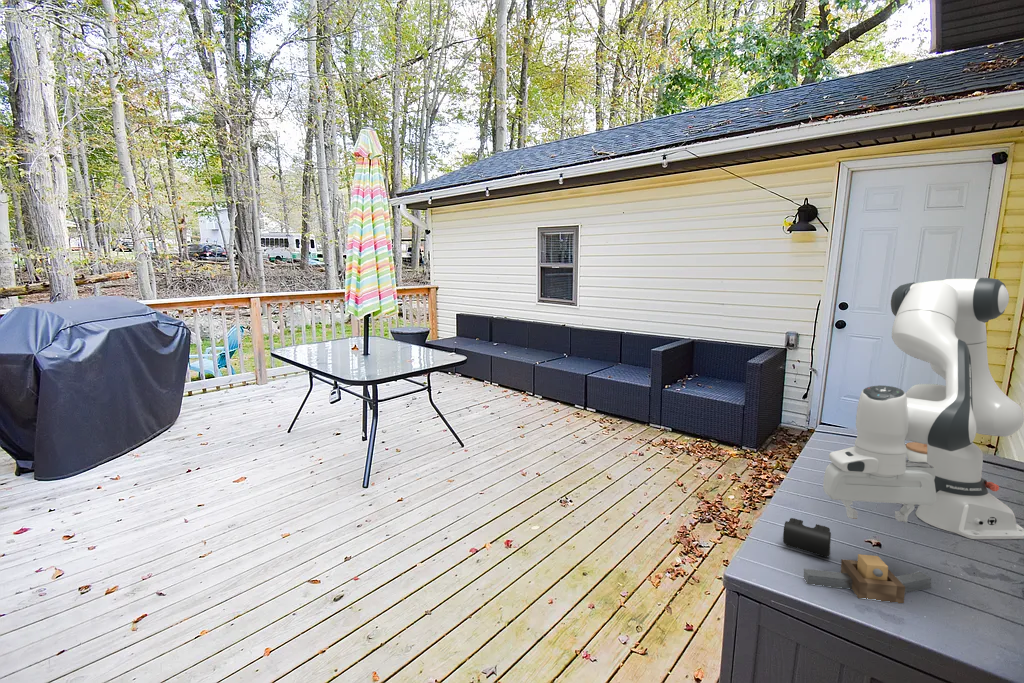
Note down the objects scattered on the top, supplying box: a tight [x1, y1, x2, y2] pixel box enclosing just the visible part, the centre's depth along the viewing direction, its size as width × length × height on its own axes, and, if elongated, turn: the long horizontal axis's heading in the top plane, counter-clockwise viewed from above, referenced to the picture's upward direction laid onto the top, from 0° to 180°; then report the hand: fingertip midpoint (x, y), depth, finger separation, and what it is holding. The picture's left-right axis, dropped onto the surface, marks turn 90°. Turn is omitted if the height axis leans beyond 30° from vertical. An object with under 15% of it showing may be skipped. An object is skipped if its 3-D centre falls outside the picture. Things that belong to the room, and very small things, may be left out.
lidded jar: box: [905, 441, 927, 462], centre depth 164 cm, size 11×11×9 cm
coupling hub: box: [840, 558, 906, 604], centre depth 102 cm, size 8×8×4 cm
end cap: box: [782, 517, 832, 558], centre depth 117 cm, size 10×7×7 cm
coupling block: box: [857, 553, 889, 581], centre depth 101 cm, size 4×5×7 cm
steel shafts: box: [803, 568, 932, 594], centre depth 104 cm, size 26×6×2 cm, turn 76°
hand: (876, 519), depth 100 cm, fingers open, 8 cm apart
